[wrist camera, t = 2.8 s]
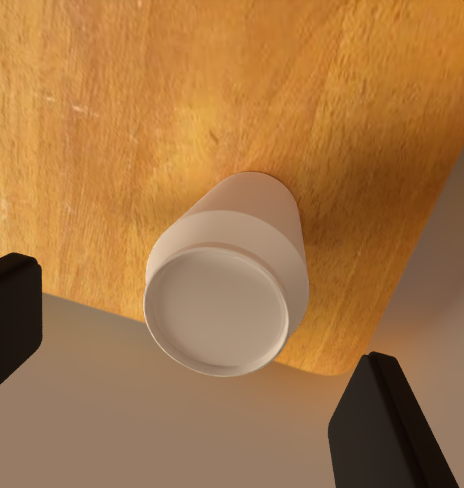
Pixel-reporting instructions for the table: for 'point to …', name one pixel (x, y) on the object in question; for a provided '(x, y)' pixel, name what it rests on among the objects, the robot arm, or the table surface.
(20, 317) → the robot arm
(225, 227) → the beverage can
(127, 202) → the table surface
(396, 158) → the table surface
